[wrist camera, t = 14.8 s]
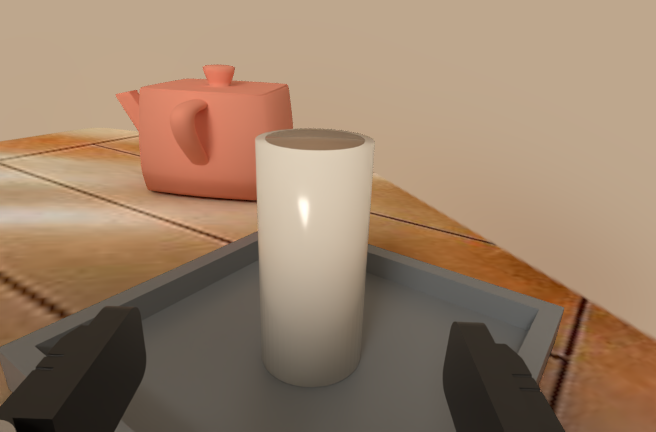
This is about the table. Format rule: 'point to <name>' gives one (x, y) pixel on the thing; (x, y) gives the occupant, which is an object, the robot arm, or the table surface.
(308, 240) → the cream cup
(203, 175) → the teapot
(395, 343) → the charcoal tray
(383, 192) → the table surface
